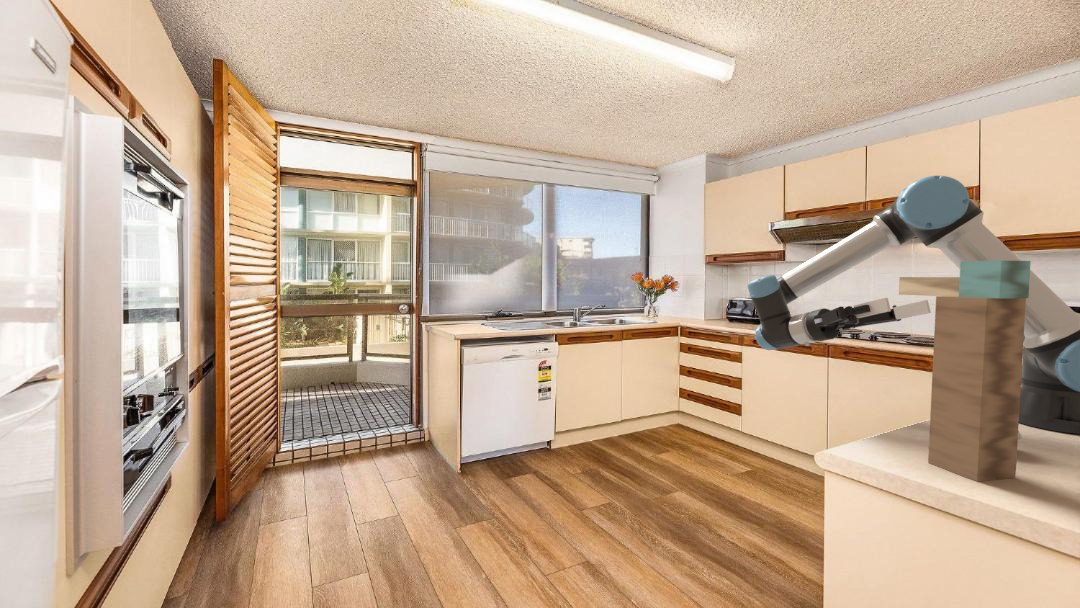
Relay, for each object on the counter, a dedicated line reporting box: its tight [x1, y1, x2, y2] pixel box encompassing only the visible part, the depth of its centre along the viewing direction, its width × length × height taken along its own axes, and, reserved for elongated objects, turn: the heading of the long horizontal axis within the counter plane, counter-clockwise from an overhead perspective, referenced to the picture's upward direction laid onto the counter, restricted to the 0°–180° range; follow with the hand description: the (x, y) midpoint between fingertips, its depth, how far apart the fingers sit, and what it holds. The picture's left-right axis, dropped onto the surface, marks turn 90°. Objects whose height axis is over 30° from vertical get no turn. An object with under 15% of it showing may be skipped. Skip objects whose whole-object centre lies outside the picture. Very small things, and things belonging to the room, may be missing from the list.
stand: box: [927, 296, 1026, 482], centre depth 81 cm, size 8×8×30 cm
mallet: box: [898, 260, 1032, 299], centre depth 84 cm, size 6×18×6 cm, turn 12°
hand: (909, 305), depth 97 cm, fingers open, 13 cm apart
